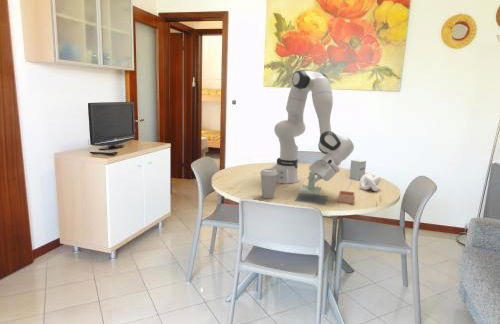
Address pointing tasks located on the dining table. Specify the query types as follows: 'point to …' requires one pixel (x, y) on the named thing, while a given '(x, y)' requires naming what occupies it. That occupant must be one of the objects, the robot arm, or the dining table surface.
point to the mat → (311, 198)
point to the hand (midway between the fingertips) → (310, 180)
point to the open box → (346, 197)
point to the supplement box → (357, 169)
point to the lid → (311, 185)
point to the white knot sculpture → (369, 182)
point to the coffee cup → (268, 182)
